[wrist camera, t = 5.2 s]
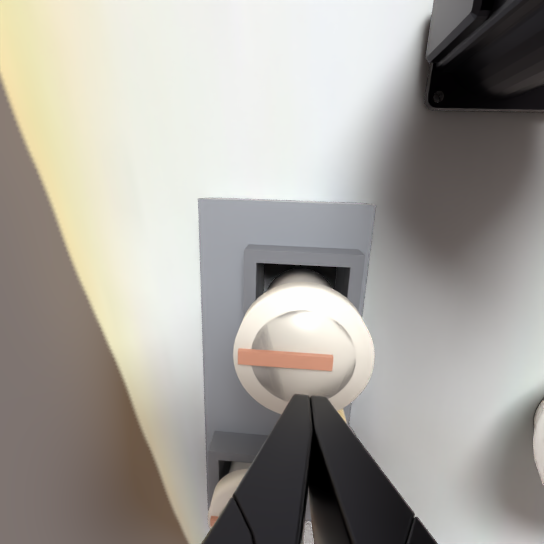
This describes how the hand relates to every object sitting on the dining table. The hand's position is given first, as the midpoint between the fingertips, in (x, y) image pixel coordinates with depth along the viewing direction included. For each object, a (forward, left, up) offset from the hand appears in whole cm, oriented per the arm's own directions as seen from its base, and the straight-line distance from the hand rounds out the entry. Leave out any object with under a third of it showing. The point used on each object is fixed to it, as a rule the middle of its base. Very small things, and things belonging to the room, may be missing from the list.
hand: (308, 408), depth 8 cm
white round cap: (0, 0, -8) cm, 8 cm away
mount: (+1, +6, -11) cm, 12 cm away
